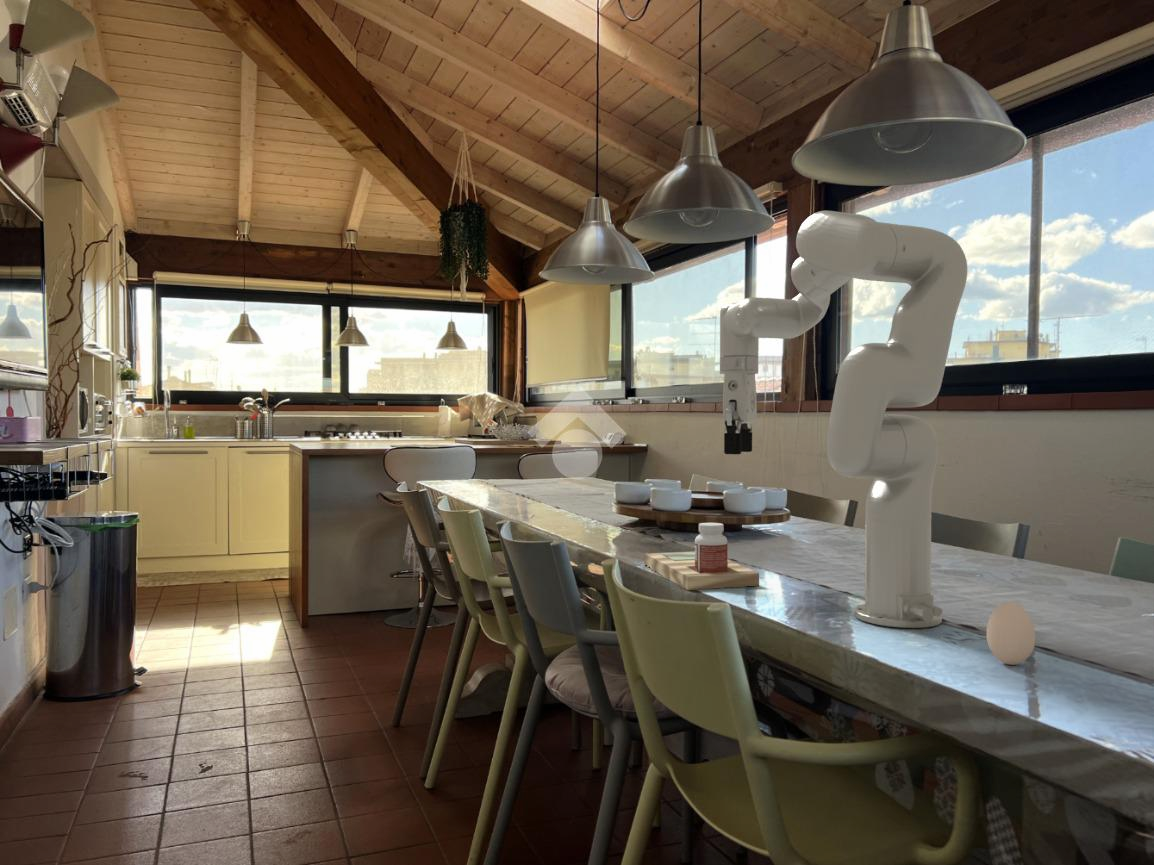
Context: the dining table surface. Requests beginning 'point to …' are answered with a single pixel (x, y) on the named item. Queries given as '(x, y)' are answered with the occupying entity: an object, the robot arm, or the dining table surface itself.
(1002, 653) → the egg
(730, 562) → the pocket board
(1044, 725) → the dining table surface
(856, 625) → the dining table surface
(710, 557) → the pill bottle
